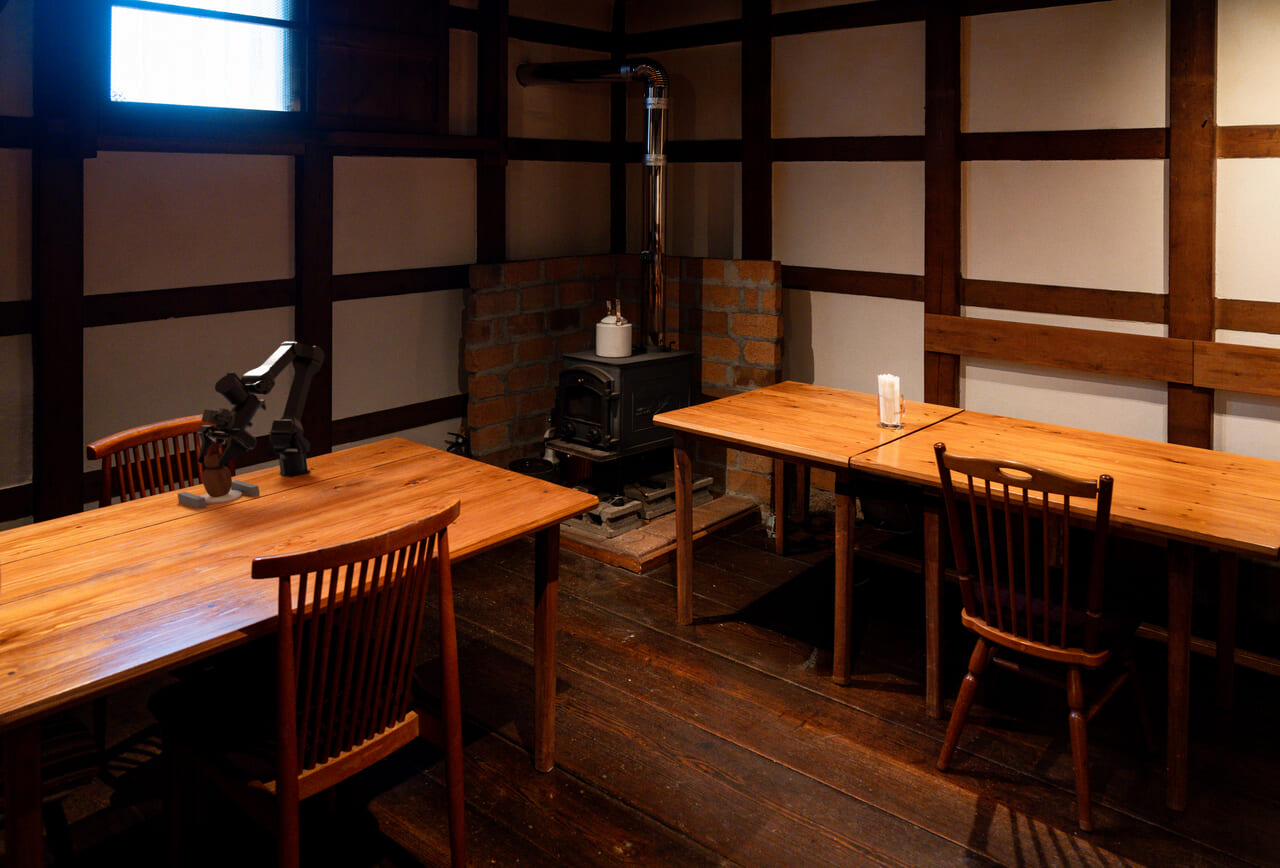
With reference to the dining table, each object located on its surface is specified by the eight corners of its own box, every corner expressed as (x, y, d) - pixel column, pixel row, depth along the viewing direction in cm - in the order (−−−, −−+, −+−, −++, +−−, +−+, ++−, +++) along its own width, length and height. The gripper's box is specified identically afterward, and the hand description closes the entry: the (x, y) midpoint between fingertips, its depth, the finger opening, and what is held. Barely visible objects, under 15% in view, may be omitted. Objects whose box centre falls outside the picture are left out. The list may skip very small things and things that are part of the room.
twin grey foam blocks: (238, 488, 265) (237, 480, 265) (259, 494, 257) (258, 485, 257) (178, 502, 254) (177, 493, 253) (198, 509, 246) (197, 499, 245)
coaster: (230, 491, 263) (230, 488, 263) (249, 496, 256) (248, 493, 255) (189, 500, 255) (188, 497, 255) (207, 506, 248) (207, 503, 248)
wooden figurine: (226, 491, 260) (218, 435, 257) (237, 493, 256) (229, 437, 253) (201, 496, 255) (193, 440, 252) (212, 499, 251) (203, 442, 248)
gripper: (198, 395, 259) (165, 444, 252) (239, 398, 248) (205, 449, 241) (229, 418, 267) (198, 467, 260) (271, 422, 256) (239, 473, 249)
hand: (209, 464), depth 252 cm, fingers open, 9 cm apart
